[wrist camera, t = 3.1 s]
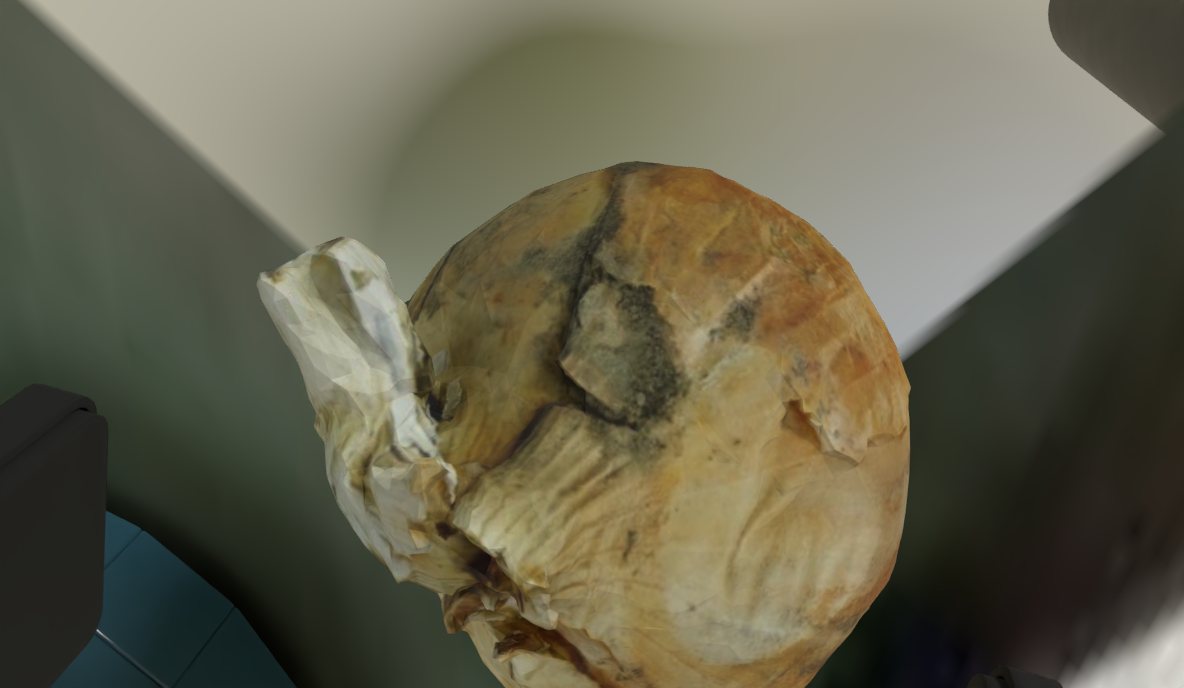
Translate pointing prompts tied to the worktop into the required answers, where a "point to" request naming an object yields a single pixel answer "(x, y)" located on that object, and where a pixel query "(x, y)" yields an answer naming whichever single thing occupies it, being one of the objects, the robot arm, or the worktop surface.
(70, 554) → the robot arm
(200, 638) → the bowl
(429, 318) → the onion
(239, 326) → the worktop surface
